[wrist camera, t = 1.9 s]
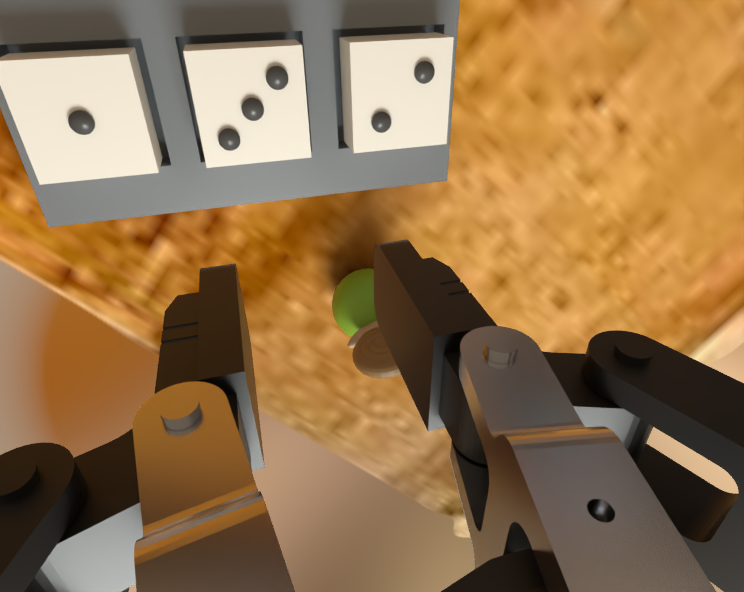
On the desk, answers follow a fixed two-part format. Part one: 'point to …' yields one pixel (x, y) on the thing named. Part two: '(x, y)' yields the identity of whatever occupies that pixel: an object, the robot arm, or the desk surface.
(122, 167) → the tile one dot
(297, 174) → the socket board
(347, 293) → the snail figurine
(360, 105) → the tile two dots
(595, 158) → the desk surface
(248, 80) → the tile three dots
